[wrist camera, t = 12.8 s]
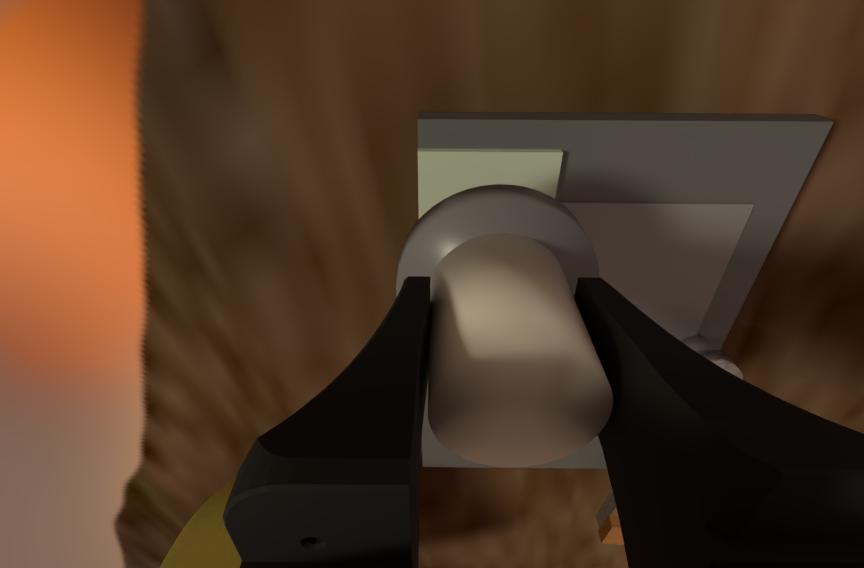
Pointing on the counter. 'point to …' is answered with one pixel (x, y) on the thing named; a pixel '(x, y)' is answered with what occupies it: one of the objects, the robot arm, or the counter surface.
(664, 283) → the board
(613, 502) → the rod with orange cap
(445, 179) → the pad
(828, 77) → the counter surface
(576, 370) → the beige mushroom
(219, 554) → the flower pot
